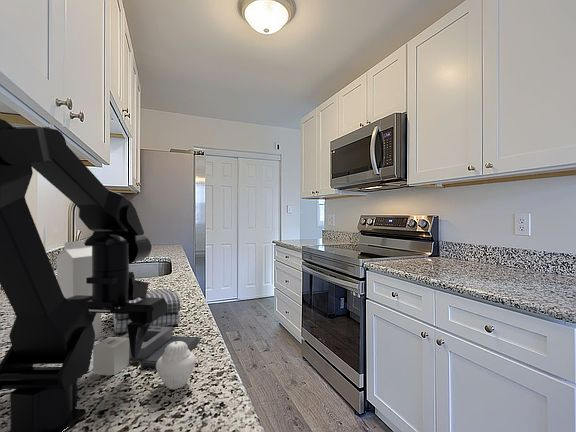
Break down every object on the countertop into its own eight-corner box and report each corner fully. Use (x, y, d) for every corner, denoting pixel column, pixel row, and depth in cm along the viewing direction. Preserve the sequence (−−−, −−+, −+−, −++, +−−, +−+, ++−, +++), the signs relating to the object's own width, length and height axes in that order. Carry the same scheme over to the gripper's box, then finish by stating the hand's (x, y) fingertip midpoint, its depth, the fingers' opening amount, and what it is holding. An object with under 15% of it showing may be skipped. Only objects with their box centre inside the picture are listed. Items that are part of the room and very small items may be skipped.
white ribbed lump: (192, 370, 54) (192, 331, 54) (199, 388, 48) (199, 344, 48) (154, 380, 51) (154, 338, 51) (157, 399, 45) (157, 353, 45)
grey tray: (144, 360, 58) (143, 347, 58) (105, 358, 58) (105, 345, 58) (172, 337, 68) (172, 326, 68) (139, 336, 69) (139, 325, 69)
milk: (56, 343, 66) (55, 241, 66) (85, 333, 71) (84, 239, 71) (73, 348, 63) (72, 242, 63) (102, 337, 69) (100, 240, 69)
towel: (113, 338, 69) (113, 304, 69) (112, 315, 84) (112, 287, 84) (183, 326, 76) (182, 295, 76) (170, 307, 92) (170, 281, 92)
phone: (172, 369, 54) (172, 363, 54) (141, 367, 55) (141, 361, 55) (199, 341, 66) (199, 336, 66) (173, 340, 67) (173, 335, 67)
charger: (114, 376, 52) (114, 346, 52) (93, 374, 53) (92, 345, 53) (129, 364, 56) (129, 337, 56) (109, 363, 57) (109, 336, 57)
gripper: (181, 262, 61) (181, 340, 61) (96, 261, 63) (97, 336, 64) (149, 273, 50) (150, 367, 50) (48, 271, 52) (49, 361, 52)
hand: (111, 355), depth 54 cm, fingers open, 9 cm apart
